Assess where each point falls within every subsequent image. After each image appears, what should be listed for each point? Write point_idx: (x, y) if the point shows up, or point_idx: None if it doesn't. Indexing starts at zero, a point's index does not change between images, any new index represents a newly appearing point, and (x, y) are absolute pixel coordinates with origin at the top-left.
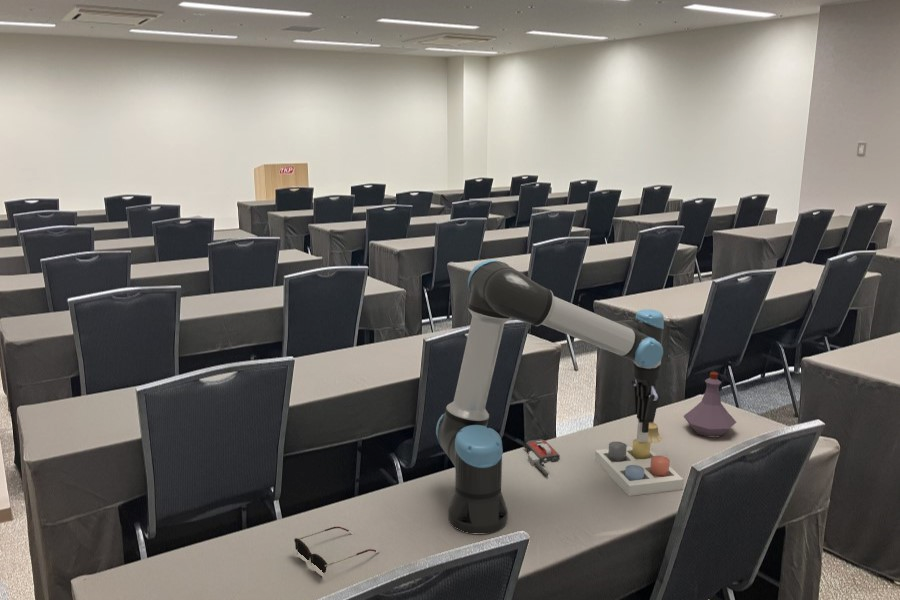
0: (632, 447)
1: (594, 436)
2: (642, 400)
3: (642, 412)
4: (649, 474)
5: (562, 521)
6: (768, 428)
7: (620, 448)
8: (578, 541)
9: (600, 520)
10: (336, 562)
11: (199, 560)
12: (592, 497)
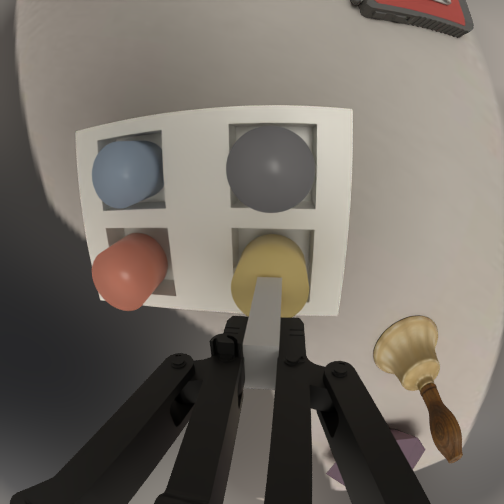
0: (284, 247)
1: (487, 215)
2: (203, 493)
3: (213, 401)
4: (124, 222)
5: None
6: (334, 486)
7: (232, 166)
8: (27, 17)
9: (53, 51)
10: None
11: None
12: (131, 40)
